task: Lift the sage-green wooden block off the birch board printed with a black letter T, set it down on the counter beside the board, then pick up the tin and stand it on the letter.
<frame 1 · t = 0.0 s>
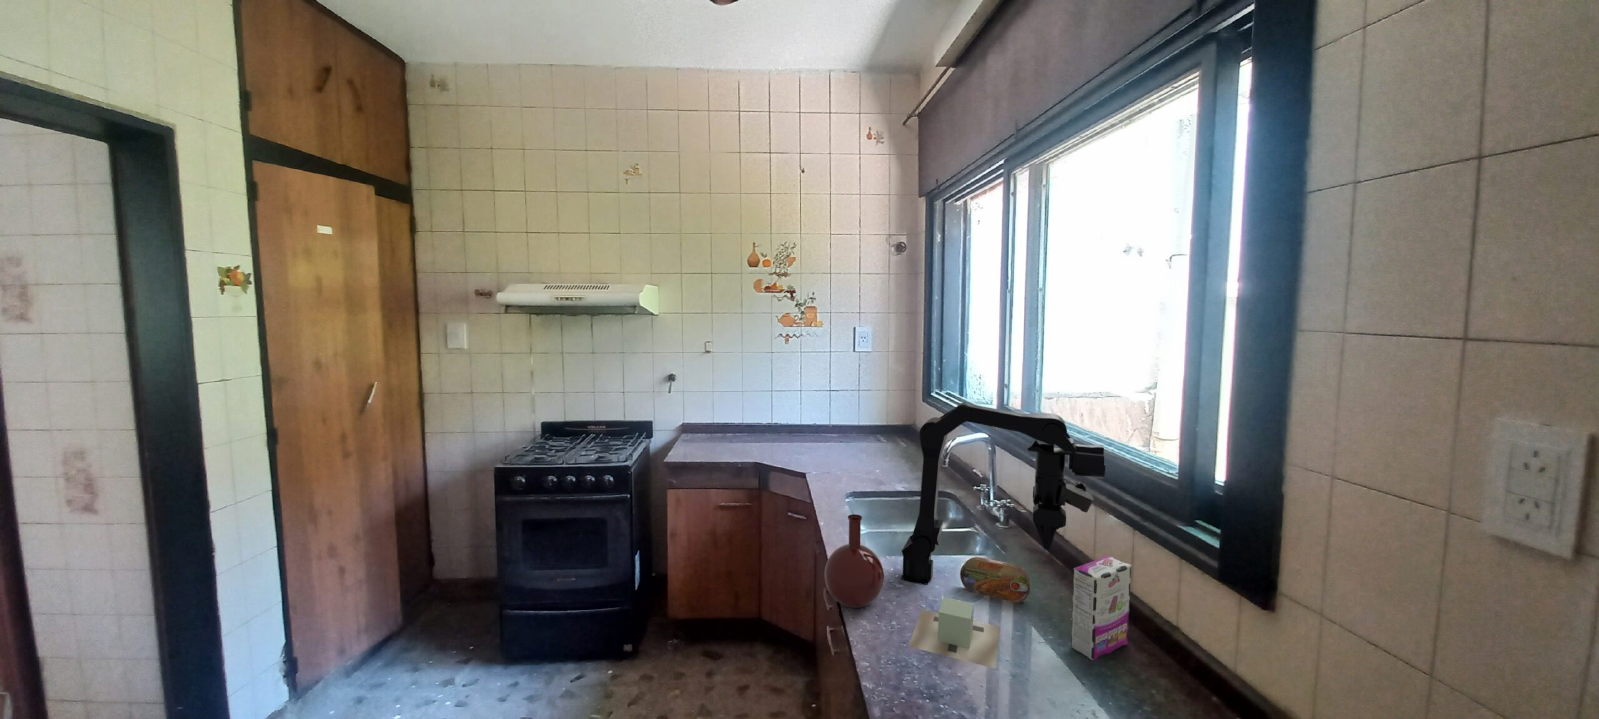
hand: (1046, 540, 117), 15 cm above the worktop, tool pointing down, fingers open, 9 cm apart
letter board: (955, 638, 106), on the worktop
round-bottom flask: (853, 604, 119), on the worktop
green block: (955, 636, 106), resting on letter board
tin: (994, 597, 122), on the worktop
candy bar box: (1098, 647, 104), on the worktop
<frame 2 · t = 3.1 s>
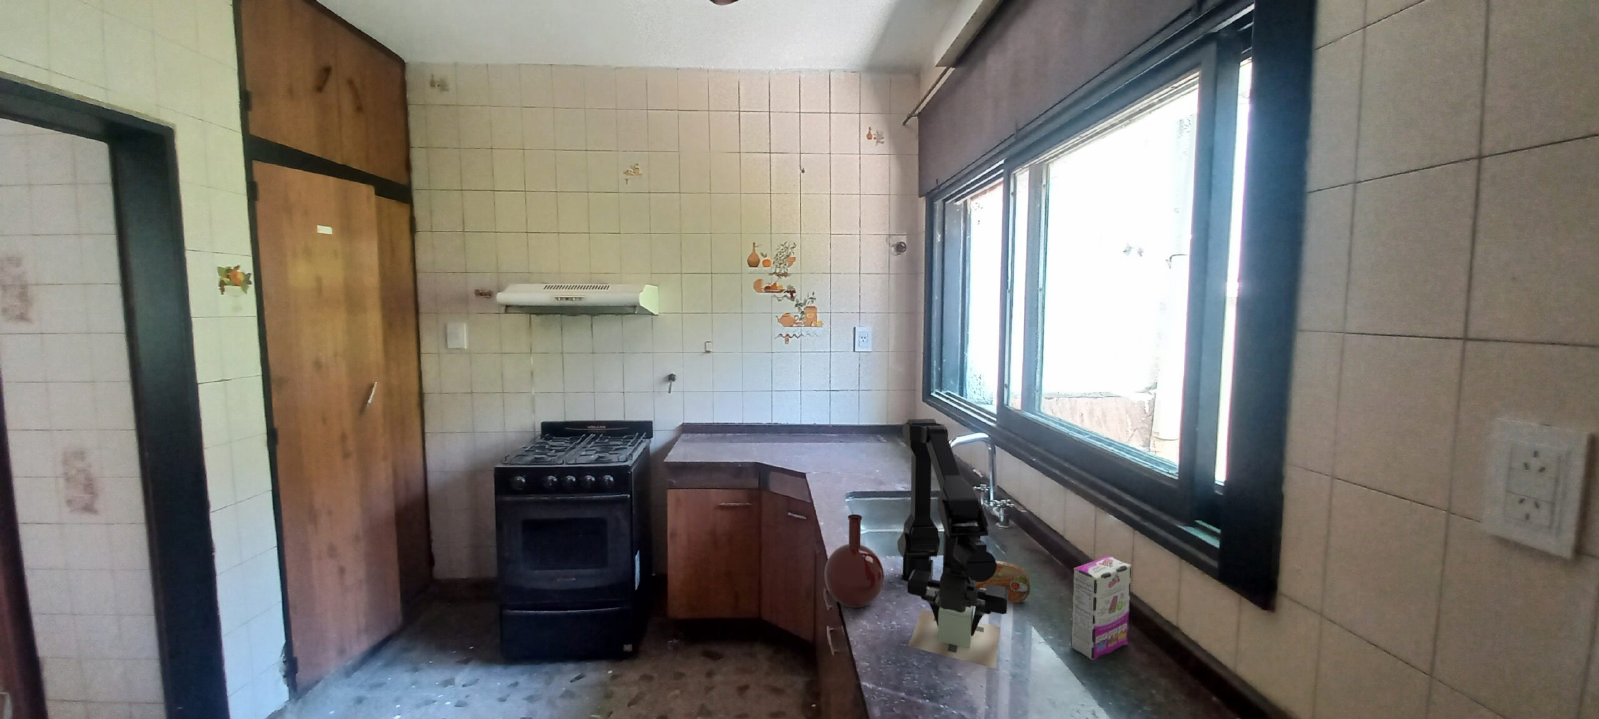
hand: (955, 630, 106), 2 cm above the worktop, tool pointing down, fingers closed on green block, 6 cm apart
green block: (955, 636, 106), resting on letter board, touching gripper
everything else where it was.
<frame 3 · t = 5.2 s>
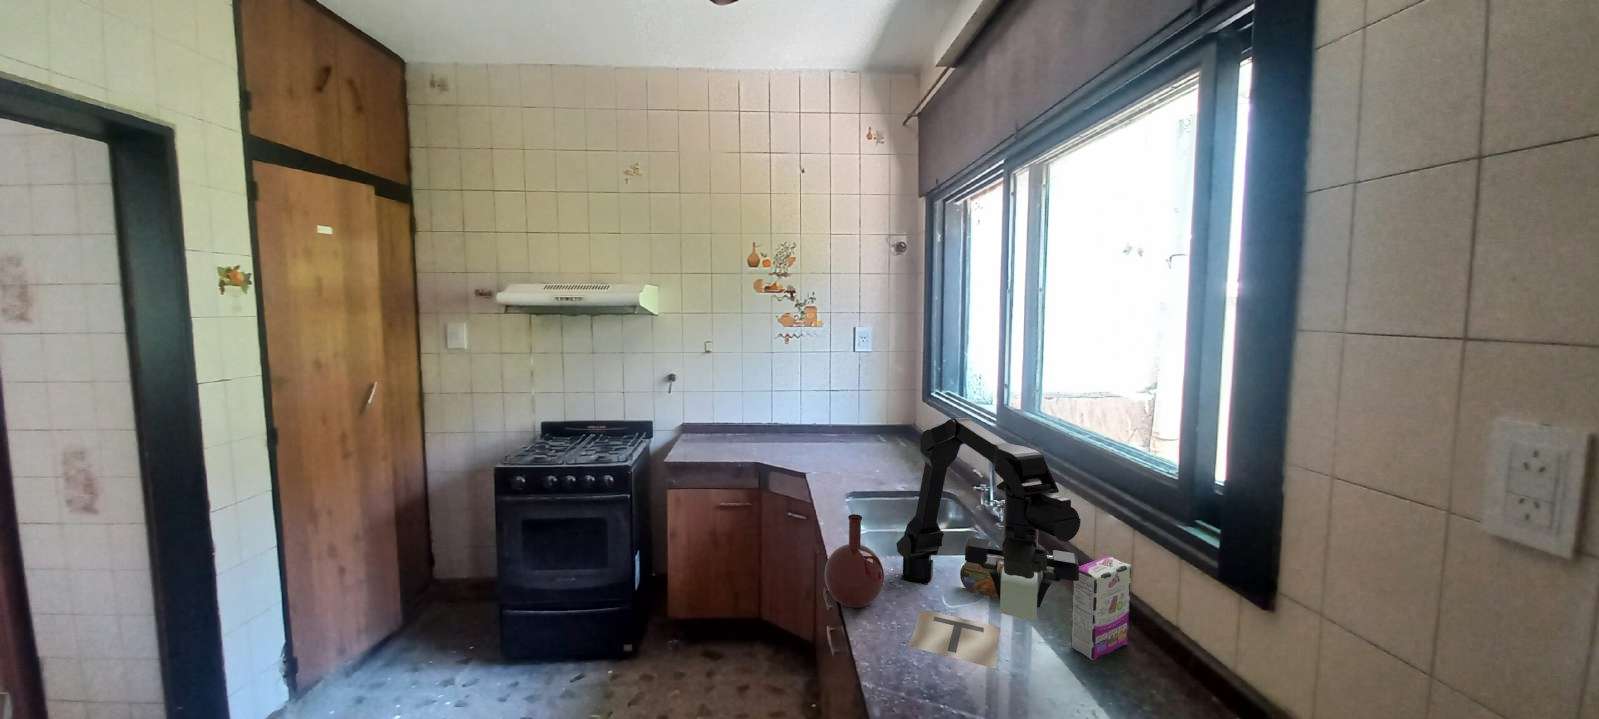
hand: (1018, 602, 97), 12 cm above the worktop, tool pointing down, fingers closed on green block, 6 cm apart
green block: (1018, 608, 97), point 11 cm above the worktop, touching gripper
everything else where it was.
when the fingers open (2 cm above the worktop, at t = 7.6 s): green block drops 1 cm, on the worktop.
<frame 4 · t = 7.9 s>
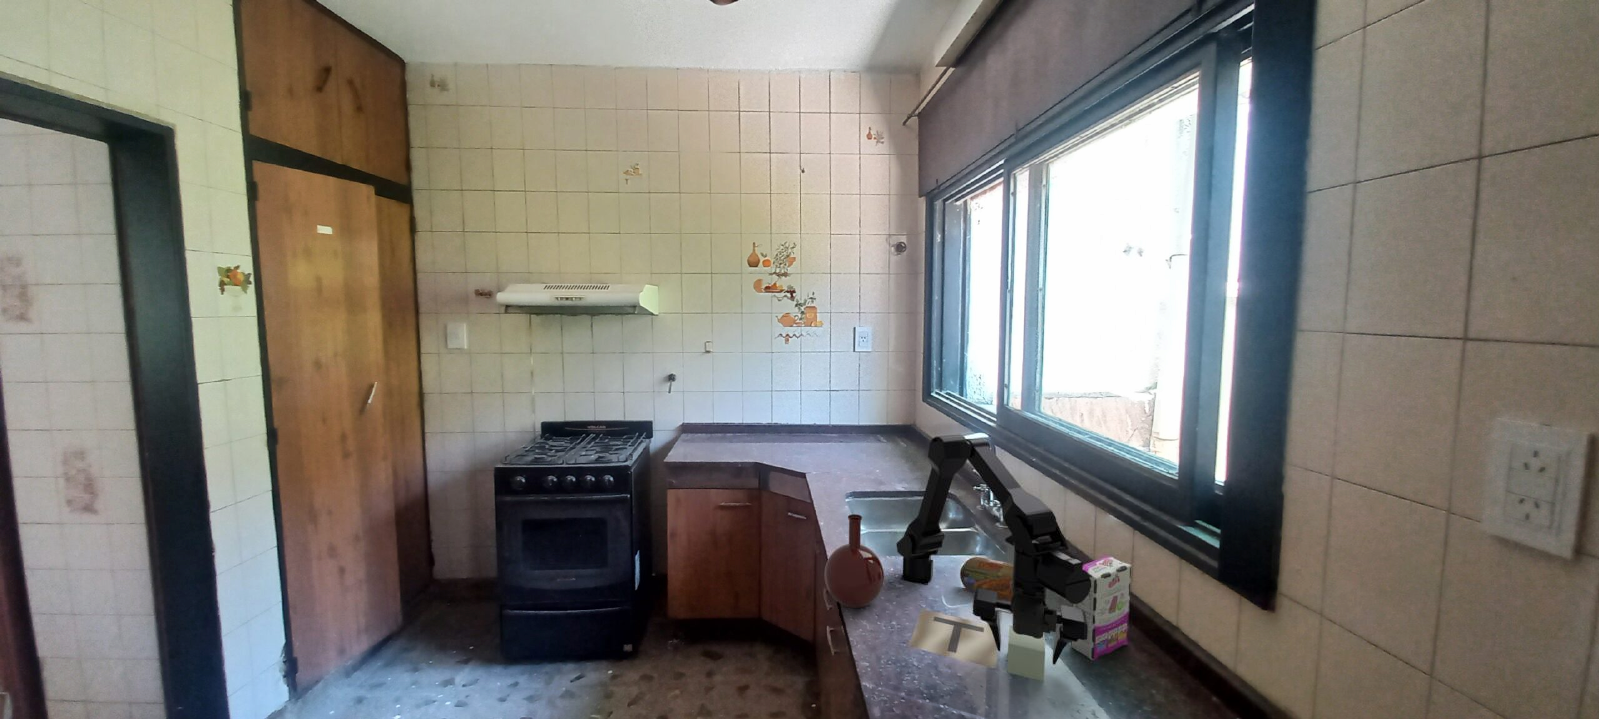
hand: (1025, 656, 97), 2 cm above the worktop, tool pointing down, fingers open, 9 cm apart
green block: (1025, 669, 97), on the worktop
everything else where it was.
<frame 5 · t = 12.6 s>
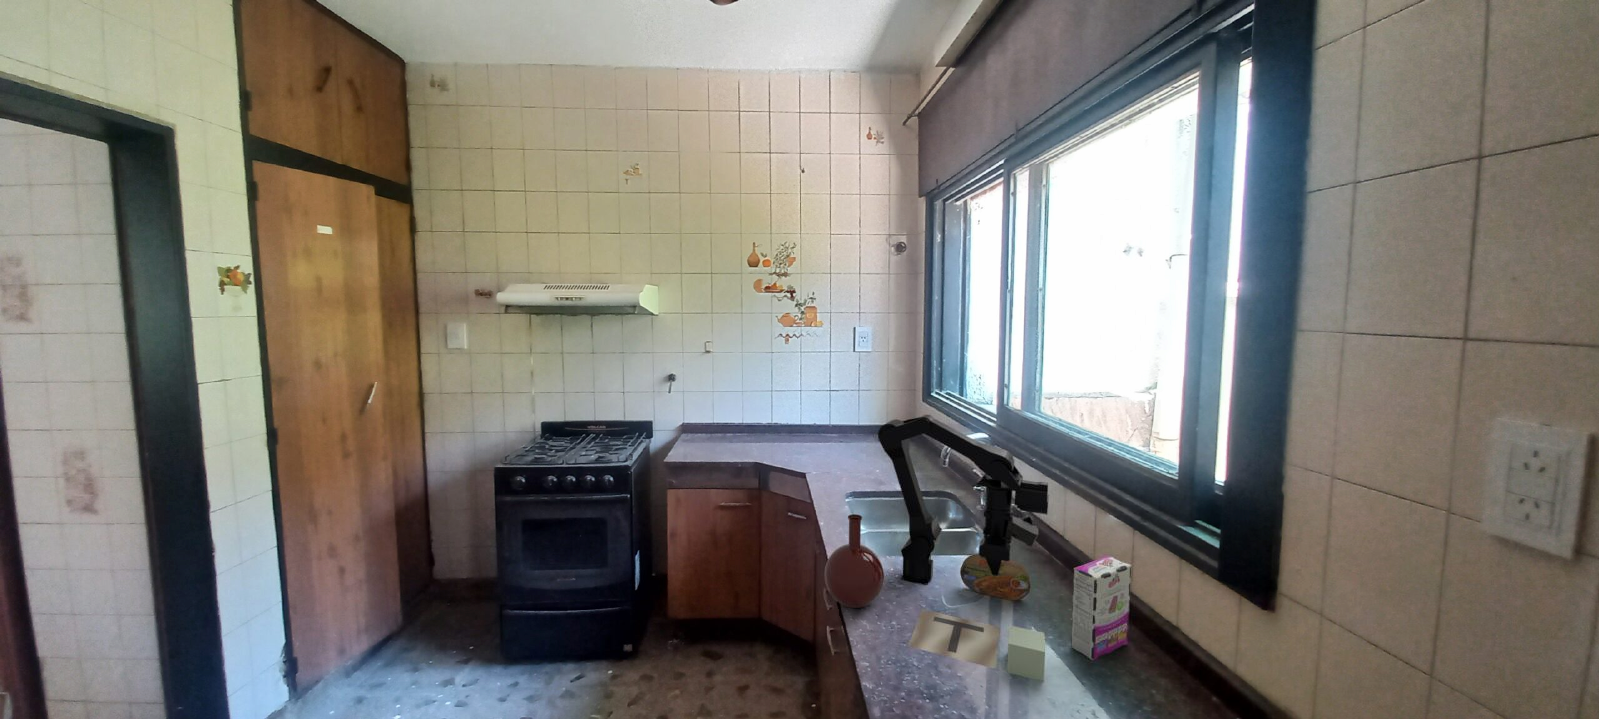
hand: (995, 572, 121), 6 cm above the worktop, tool pointing down, fingers closed on tin, 3 cm apart
tin: (993, 593, 122), on the worktop, touching gripper
everything else where it was.
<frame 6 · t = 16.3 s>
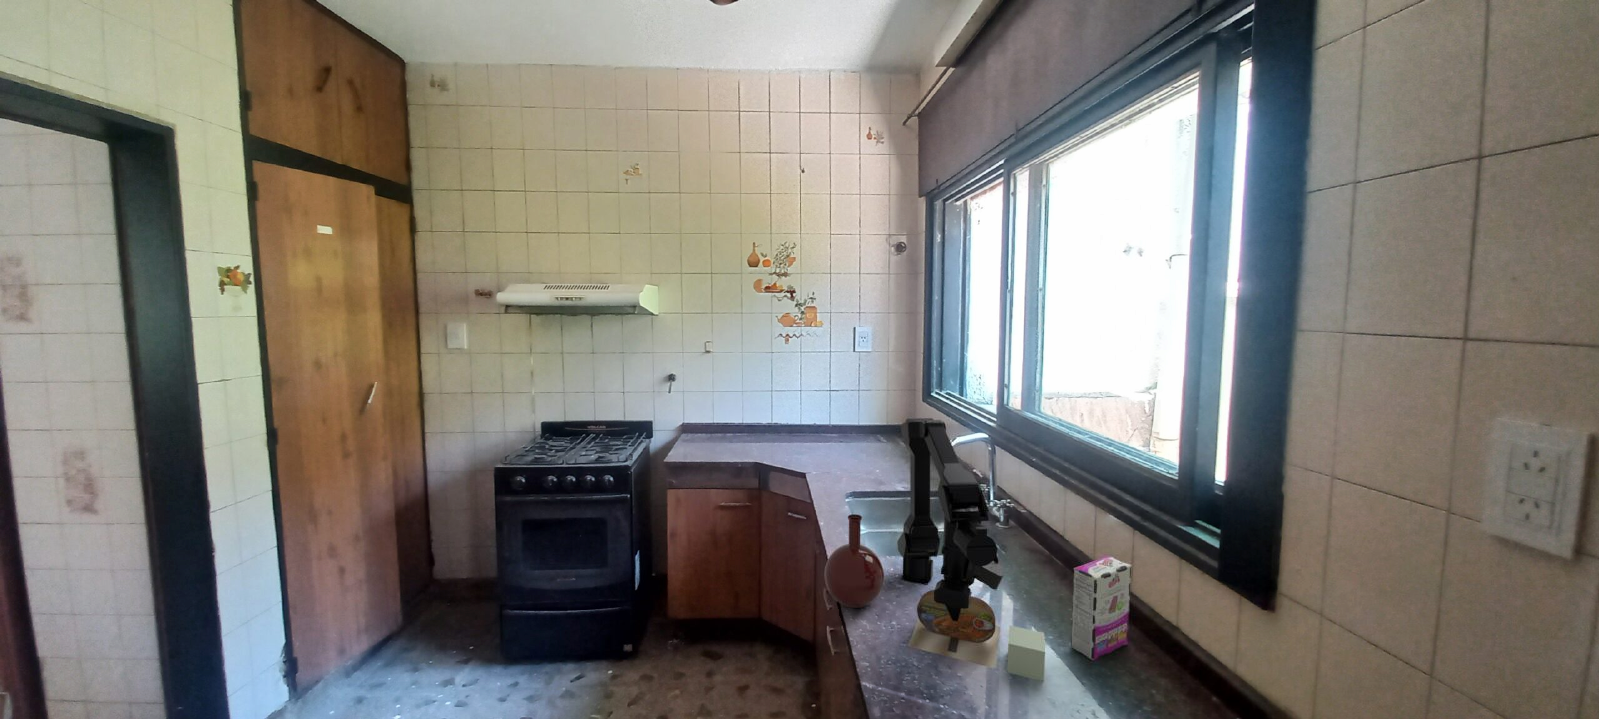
hand: (956, 616, 106), 4 cm above the worktop, tool pointing down, fingers closed on tin, 2 cm apart
tin: (955, 633, 107), resting on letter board, touching gripper
everything else where it was.
when the fingers open (4 cm above the worktop, at t = 16.6 s): tin stays where it is, resting on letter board.
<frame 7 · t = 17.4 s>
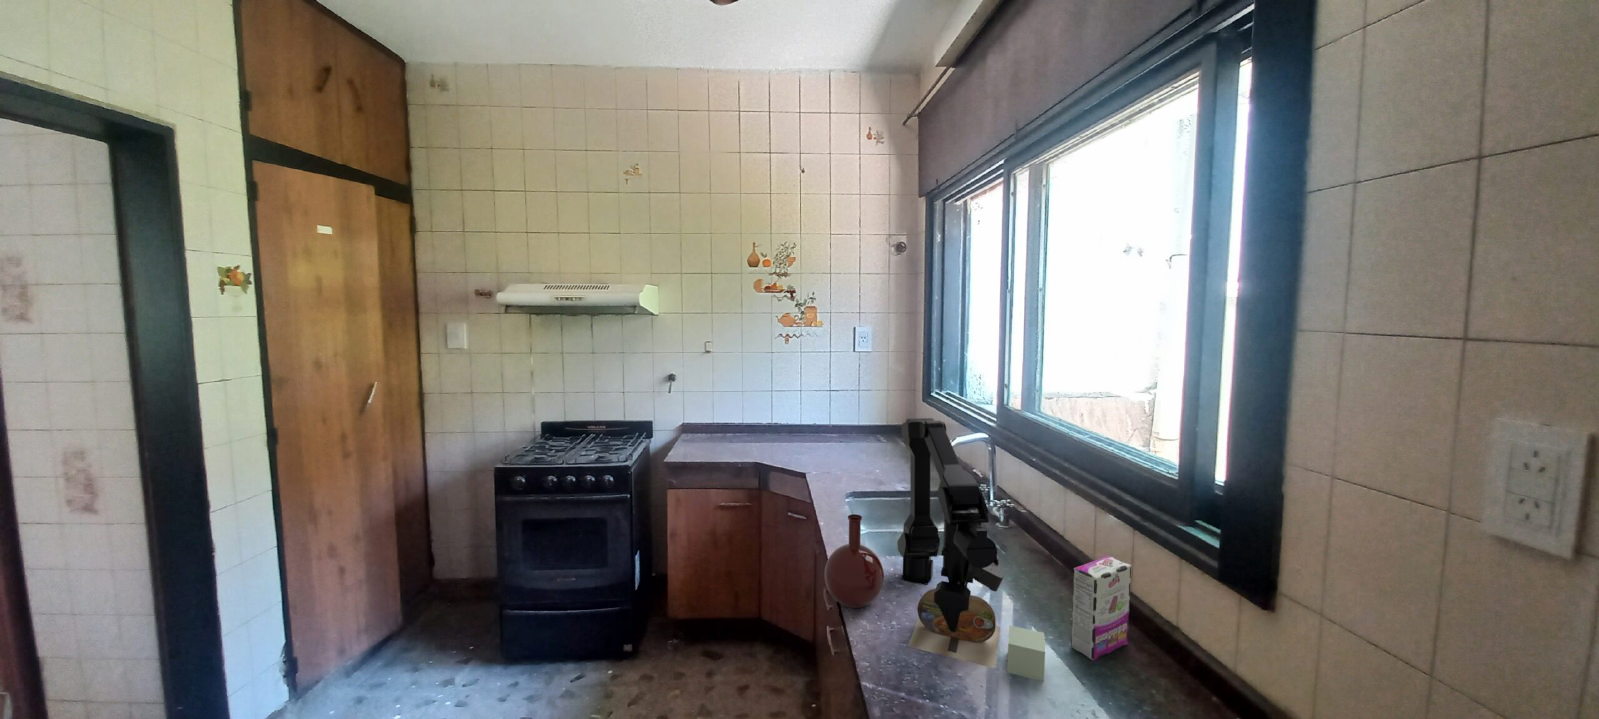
hand: (956, 618, 106), 4 cm above the worktop, tool pointing down, fingers open, 9 cm apart
tin: (955, 634, 107), resting on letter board
everything else where it was.
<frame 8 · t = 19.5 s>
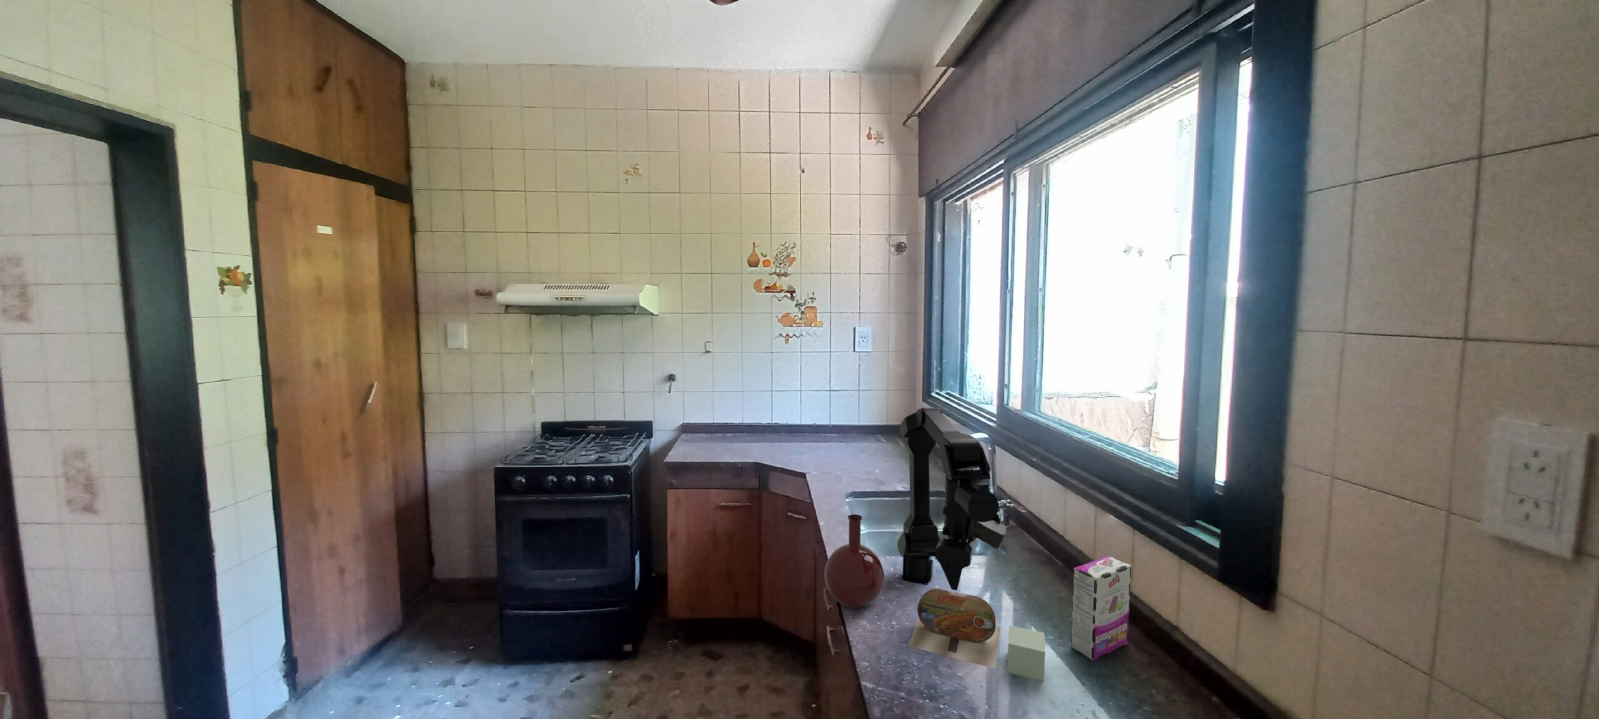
hand: (957, 578, 105), 12 cm above the worktop, tool pointing down, fingers open, 9 cm apart
nothing on the worktop moved.
at the end: tin inside the target area on the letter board (0.8 cm from its centre), point 0.2 cm above the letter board's base; tin tilted 0°; green block touching worktop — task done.
